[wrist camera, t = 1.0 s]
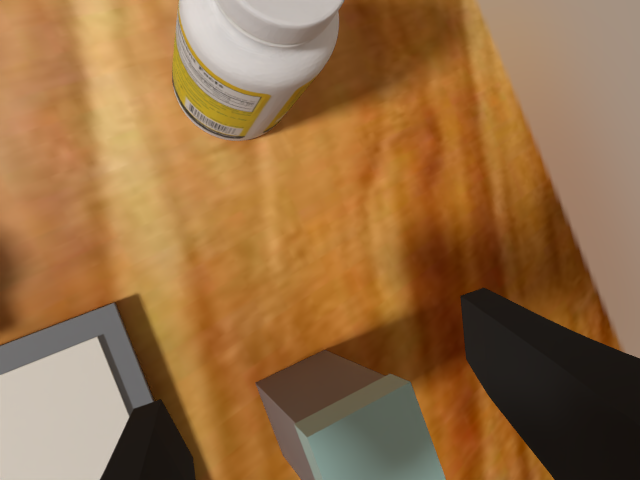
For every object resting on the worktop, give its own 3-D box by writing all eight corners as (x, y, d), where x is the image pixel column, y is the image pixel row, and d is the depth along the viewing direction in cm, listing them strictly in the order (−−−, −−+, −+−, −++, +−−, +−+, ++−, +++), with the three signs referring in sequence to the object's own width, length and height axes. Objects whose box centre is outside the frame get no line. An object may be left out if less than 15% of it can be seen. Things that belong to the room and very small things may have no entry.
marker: (352, 419, 24) (448, 487, 16) (281, 458, 22) (350, 551, 15) (325, 346, 24) (410, 381, 16) (252, 381, 22) (307, 437, 15)
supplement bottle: (270, 22, 24) (349, -138, 14) (299, 131, 24) (397, 42, 15) (155, 35, 22) (162, -139, 13) (188, 153, 22) (219, 67, 13)
